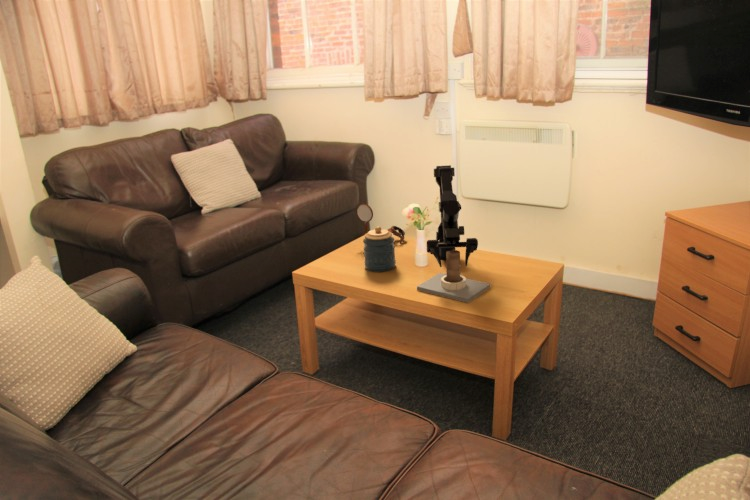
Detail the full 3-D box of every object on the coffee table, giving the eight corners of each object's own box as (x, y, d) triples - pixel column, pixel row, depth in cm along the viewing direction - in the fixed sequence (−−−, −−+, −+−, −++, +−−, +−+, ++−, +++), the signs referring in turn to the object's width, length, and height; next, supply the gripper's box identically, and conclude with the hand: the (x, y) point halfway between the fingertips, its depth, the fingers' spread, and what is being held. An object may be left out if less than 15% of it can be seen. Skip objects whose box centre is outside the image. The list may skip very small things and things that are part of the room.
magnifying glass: (358, 244, 274) (355, 203, 268) (360, 243, 276) (357, 202, 269) (373, 247, 270) (371, 205, 263) (375, 246, 271) (373, 204, 264)
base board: (417, 290, 221) (416, 280, 220) (440, 276, 233) (440, 266, 232) (468, 303, 208) (468, 292, 207) (490, 287, 220) (490, 277, 218)
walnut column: (444, 284, 221) (443, 251, 217) (455, 281, 223) (455, 249, 219) (451, 288, 217) (450, 255, 213) (462, 285, 219) (462, 253, 214)
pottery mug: (388, 238, 283) (396, 223, 280) (402, 249, 279) (410, 235, 276) (374, 238, 273) (382, 224, 270) (388, 250, 269) (396, 236, 266)
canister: (386, 274, 238) (384, 232, 232) (359, 270, 244) (356, 229, 238) (401, 263, 248) (399, 223, 243) (374, 259, 255) (372, 220, 249)
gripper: (426, 219, 216) (428, 258, 209) (477, 217, 215) (481, 256, 208) (425, 233, 226) (427, 270, 219) (474, 231, 225) (478, 268, 218)
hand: (453, 266), depth 216 cm, fingers open, 9 cm apart
